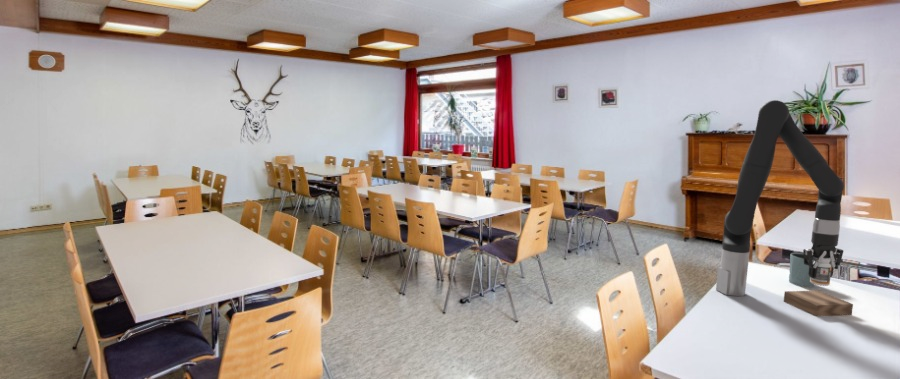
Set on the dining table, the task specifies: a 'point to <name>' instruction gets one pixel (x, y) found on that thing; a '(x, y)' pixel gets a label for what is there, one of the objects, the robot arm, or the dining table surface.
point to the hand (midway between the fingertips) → (820, 276)
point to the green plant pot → (799, 271)
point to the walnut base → (818, 303)
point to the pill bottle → (822, 273)
